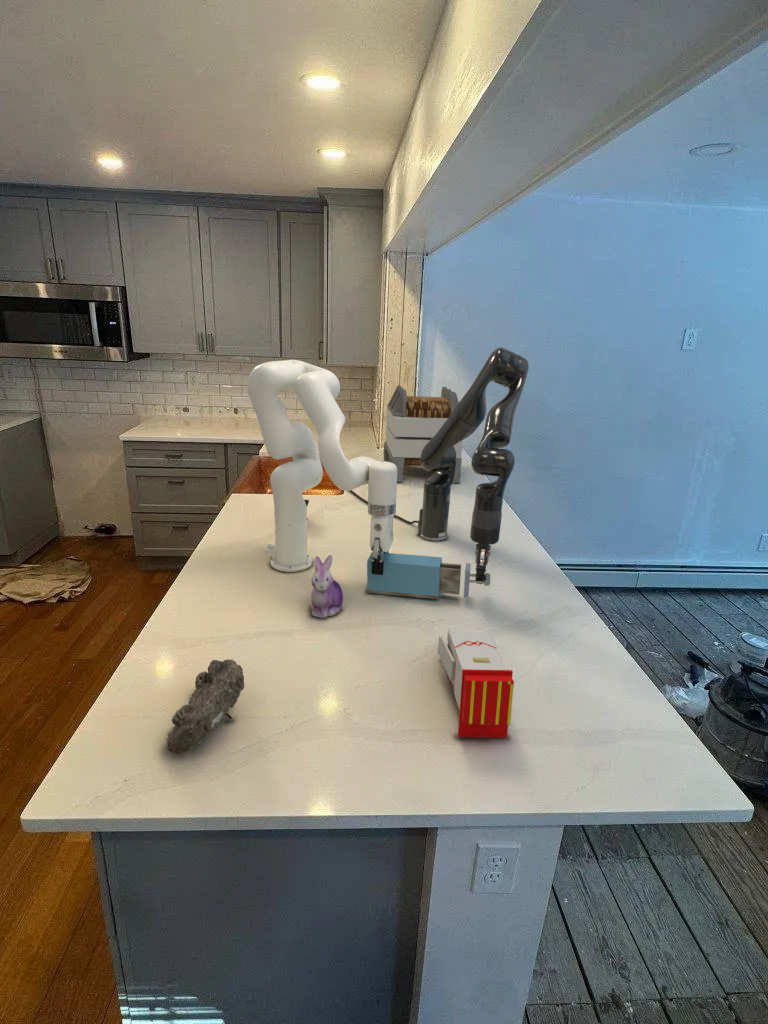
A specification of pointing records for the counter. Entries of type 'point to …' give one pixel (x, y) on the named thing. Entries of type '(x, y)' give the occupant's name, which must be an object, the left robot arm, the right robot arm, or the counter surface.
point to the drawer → (457, 579)
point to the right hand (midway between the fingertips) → (479, 582)
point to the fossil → (206, 705)
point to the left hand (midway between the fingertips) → (379, 568)
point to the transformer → (416, 427)
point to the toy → (478, 682)
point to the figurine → (325, 590)
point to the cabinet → (406, 576)
